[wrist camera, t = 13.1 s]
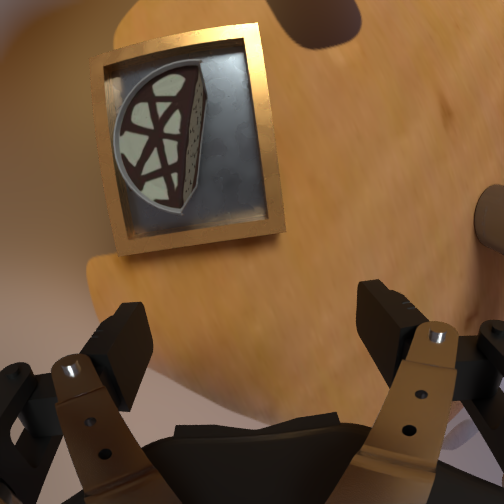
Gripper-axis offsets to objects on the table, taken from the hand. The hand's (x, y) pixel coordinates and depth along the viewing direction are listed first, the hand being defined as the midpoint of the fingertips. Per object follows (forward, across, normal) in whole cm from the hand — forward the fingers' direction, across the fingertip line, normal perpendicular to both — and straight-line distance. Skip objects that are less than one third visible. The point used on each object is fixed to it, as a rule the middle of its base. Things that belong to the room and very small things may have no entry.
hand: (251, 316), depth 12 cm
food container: (+22, +7, -8) cm, 25 cm away
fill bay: (+24, +5, -8) cm, 26 cm away
